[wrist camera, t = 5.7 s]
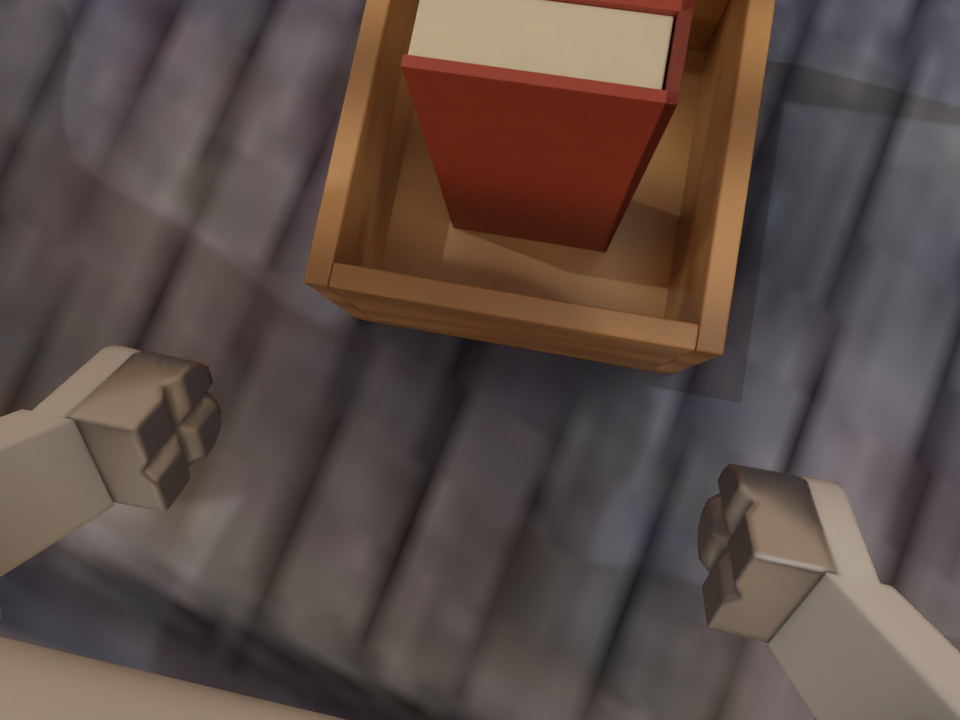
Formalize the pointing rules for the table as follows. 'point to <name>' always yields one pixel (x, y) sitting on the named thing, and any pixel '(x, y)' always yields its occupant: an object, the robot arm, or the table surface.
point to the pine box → (538, 265)
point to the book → (545, 108)
